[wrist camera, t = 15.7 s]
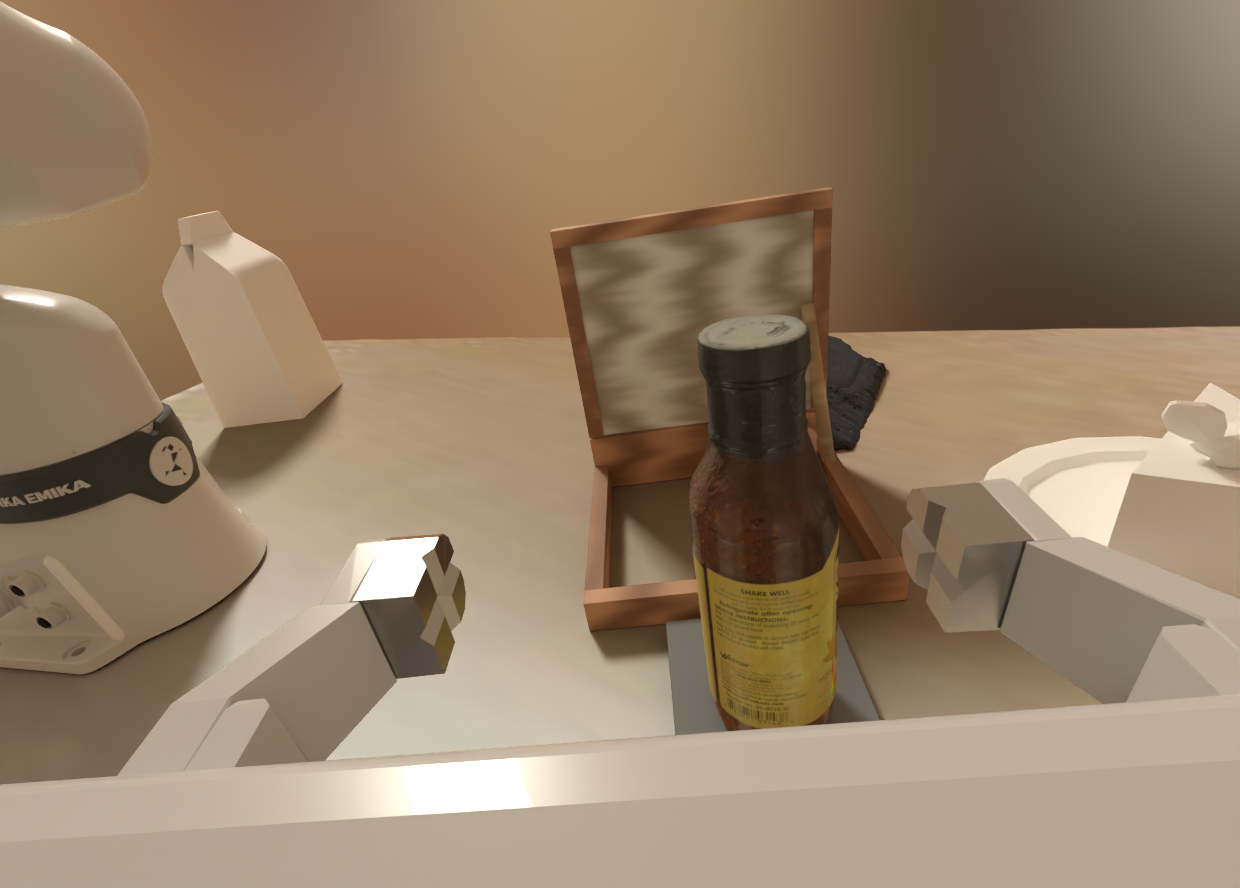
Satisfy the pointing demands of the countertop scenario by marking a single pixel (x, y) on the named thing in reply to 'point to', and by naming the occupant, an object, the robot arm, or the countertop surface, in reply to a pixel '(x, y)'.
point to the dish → (1150, 490)
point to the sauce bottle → (764, 530)
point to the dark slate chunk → (850, 391)
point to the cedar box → (696, 368)
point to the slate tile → (698, 702)
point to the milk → (245, 326)
